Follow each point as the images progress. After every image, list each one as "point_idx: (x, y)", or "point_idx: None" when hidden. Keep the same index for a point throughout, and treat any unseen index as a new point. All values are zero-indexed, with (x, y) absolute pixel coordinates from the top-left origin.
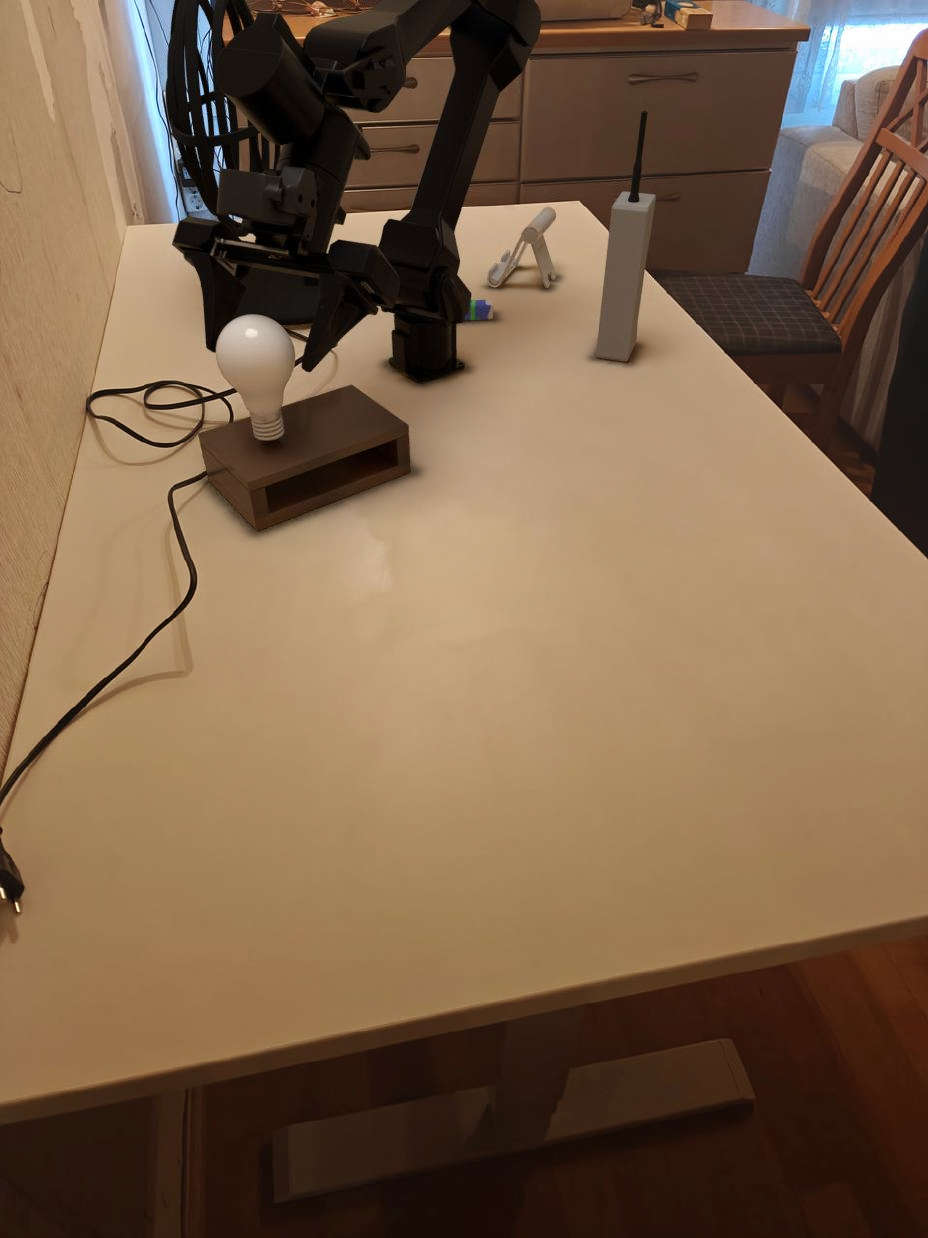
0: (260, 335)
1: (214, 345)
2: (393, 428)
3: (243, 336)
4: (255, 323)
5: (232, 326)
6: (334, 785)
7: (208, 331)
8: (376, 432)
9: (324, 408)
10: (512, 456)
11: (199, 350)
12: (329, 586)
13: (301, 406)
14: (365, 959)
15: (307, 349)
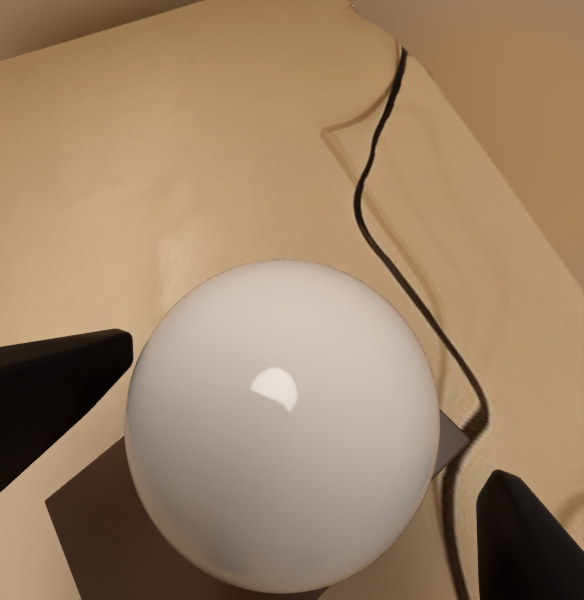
0: (202, 288)
1: (490, 503)
2: (75, 482)
3: (272, 268)
4: (215, 330)
5: (338, 321)
6: (202, 79)
7: (549, 531)
8: (108, 463)
9: (214, 585)
10: None
11: None
12: (219, 235)
13: (269, 594)
14: (184, 21)
15: (72, 346)
